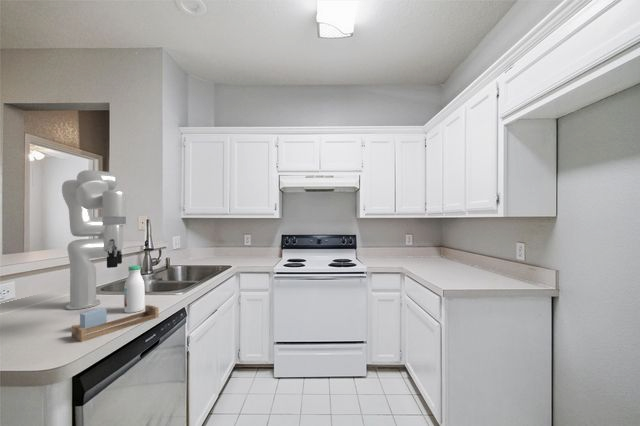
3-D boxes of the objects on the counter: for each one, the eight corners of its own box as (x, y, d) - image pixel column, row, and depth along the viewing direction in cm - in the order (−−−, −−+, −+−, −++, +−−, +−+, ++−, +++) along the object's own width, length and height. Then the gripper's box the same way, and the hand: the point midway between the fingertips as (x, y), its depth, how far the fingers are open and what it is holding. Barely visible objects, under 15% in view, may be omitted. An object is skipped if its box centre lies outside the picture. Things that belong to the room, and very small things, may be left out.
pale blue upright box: (80, 329, 107) (80, 313, 107) (101, 323, 113) (101, 308, 113) (84, 331, 105) (84, 315, 105) (106, 325, 111) (106, 309, 111)
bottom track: (71, 337, 100) (71, 325, 100) (148, 314, 123) (148, 304, 123) (81, 341, 96) (81, 330, 96) (158, 317, 119) (158, 307, 119)
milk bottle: (148, 307, 131) (148, 264, 131) (138, 313, 124) (138, 267, 124) (131, 307, 131) (131, 264, 131) (120, 313, 123) (120, 267, 123)
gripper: (107, 221, 117) (107, 263, 116) (96, 222, 101) (97, 270, 101) (129, 221, 120) (129, 261, 120) (122, 221, 105) (122, 267, 104)
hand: (114, 265), depth 110 cm, fingers open, 9 cm apart
